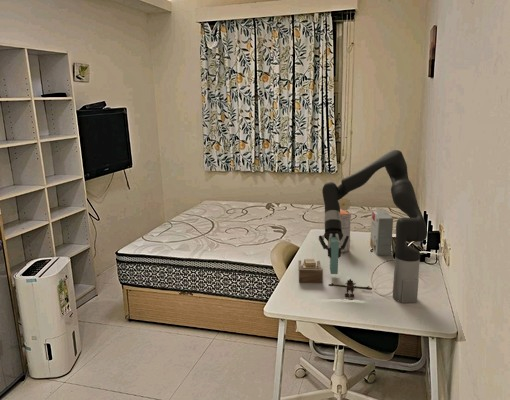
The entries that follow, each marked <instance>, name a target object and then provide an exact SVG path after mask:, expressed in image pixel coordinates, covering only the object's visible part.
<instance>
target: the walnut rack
mask: <svg viewBox="0 0 510 400" xmlns="http://www.w3.org/2000/svg"><path fill="white" fill-rule="evenodd" d="M316 267H317V269H303V264H302V260H300V259H299V260H298V283H299V284H323V283H324V282H323V279H324V278H323V276H324V275H323V274H324V273H323V272H324V269H323V268H322V266H321V261H320V260H317V262H316Z"/></svg>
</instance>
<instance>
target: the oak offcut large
mask: <svg viewBox="0 0 510 400" xmlns="http://www.w3.org/2000/svg"><path fill="white" fill-rule="evenodd" d="M302 265H303V269H317V267H306V266H305V264H304V261H303V262H302Z"/></svg>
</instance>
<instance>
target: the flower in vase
mask: <svg viewBox="0 0 510 400" xmlns="http://www.w3.org/2000/svg"><path fill="white" fill-rule="evenodd" d="M338 202H339V205H340V209H342V210H344V211H346V212H348V213H350V211H348V210H349V208H350V206H351V205H352V203H351V199H349V198H347V197H345V196H344V197H343V198H341V199H340V200H338Z"/></svg>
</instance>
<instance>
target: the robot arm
mask: <svg viewBox="0 0 510 400" xmlns="http://www.w3.org/2000/svg"><path fill="white" fill-rule="evenodd" d="M383 168H385V170H386V172H387V173H386V174H388V176H389V178H390V181H391V183H392V184H391V188H390V193H391V197H392V202H393V204H394V205H395V206H396V207H397V208H398V209H399V210H400V211H401V212H403V214H406V215H407V217H399V218H398V219H397V221H396V223H395V224H396V225H395V253H394V269H393V281H392V298H393V299H394V300H395V301H398V302H400V303H402V304H406V303H407V304H409V303H412V304H413V303H418V294H419V293H418V292H419V274H420V264H421V263H420V262H421V252H420V251H419V250H418V249H417V248H415V247H412V246H409V245H407V244H406V242H408V243H409V242H410V243H411V242H412V243H413V242H416V243H418V242H419V243H420V242H423V241H425V240H426V239H427V236H428V228H427V227H428V226H427V223H426V220H425V219H424V216H423V214H422V212H421V210H420V207H419V203H418V199H417V195H416V192H415V189H414V186H413V184H412V182H411V180H410V179H409V173H408V165H407V162H406V159H405V157H404V155H403V153H402V151H401V150H397V149H395V150H390V151H387V152H386V153H384V154H382V155H381V156H379V157H378V158H377V159H375V160H374V161H371V162H370V163H369V164H367V165H366V166H365V167H363V168H361V169H359V170H358V171H355V172H354V173H352V174H350V175H347V176H345V177H343V178H342V179H341V183H340V185H337V184H336V183H334V182H333V181H327V182H326V183H325V184H324V185H323V186H322V189H321V190H322V197H323V202H324V203H323V204H324V219H323V222H324V233H323V235H319V236H318V241H319V243H320V245H321V246H322V249H323V250H326V251H327V257H328V258H329V259H330V258H331V237H338V241H339V250H338V259H340V258H342V257H341V256H342V252H341V250H342V249H344V248H345V246H346V244H347V242H348V239H349V236H344V235H343V233H342V225H341V215H340V205H339V202H338V200H340V199H341V198H344V197H345V196H347V195H348V194H349V193H350V192H353V191H354V190H356V189H359V188H361V187H362V186H364V185H365V184H367V183H368V181H369V180H370V179H371V178H372V176H374V174H375V173H376V172H378V171H379V170H381V169H383ZM342 238H343V240H344V243H343V245H342V246H341V245H340V240H341V239H342ZM325 240H326V241H327V244H326V242H325Z"/></svg>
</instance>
